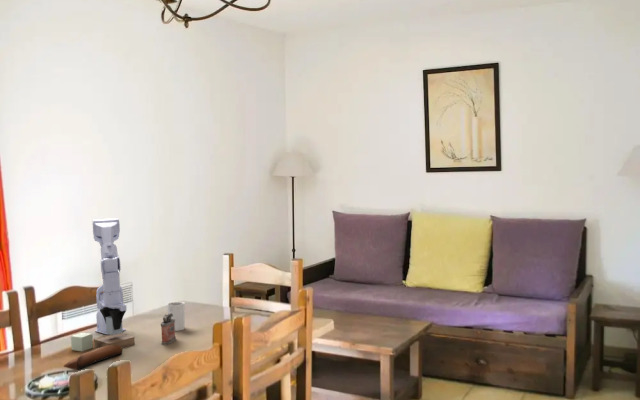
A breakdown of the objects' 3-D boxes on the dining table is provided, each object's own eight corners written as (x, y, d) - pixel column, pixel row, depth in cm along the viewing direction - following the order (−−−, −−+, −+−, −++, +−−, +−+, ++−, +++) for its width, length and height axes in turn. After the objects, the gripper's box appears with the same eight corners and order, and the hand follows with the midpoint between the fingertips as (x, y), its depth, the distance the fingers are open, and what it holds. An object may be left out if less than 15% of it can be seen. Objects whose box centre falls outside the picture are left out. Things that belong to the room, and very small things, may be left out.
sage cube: (71, 350, 218) (71, 336, 218) (82, 346, 223) (81, 332, 223) (82, 351, 216) (81, 337, 216) (93, 347, 221) (92, 333, 220)
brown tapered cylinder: (105, 351, 215) (111, 336, 213) (118, 363, 212) (124, 348, 210) (61, 366, 200) (67, 350, 198) (74, 380, 197) (80, 364, 195)
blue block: (106, 333, 222) (105, 317, 222) (116, 331, 225) (115, 314, 225) (112, 335, 220) (112, 318, 219) (122, 332, 223) (121, 316, 223)
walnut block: (94, 347, 222) (93, 339, 222) (119, 340, 230) (118, 332, 230) (109, 352, 216) (109, 343, 215) (134, 345, 223) (134, 337, 223)
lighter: (168, 344, 221) (166, 317, 220) (159, 344, 222) (158, 317, 221) (177, 338, 229) (176, 311, 228) (169, 338, 229) (168, 311, 229)
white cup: (183, 330, 239) (182, 305, 239) (166, 331, 240) (165, 305, 239) (187, 326, 246) (186, 301, 245) (170, 326, 246) (169, 301, 246)
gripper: (90, 290, 223) (92, 327, 224) (113, 295, 214) (115, 333, 215) (108, 287, 228) (110, 323, 229) (130, 291, 219) (132, 329, 220)
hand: (113, 328), depth 222 cm, fingers closed on blue block, 4 cm apart
